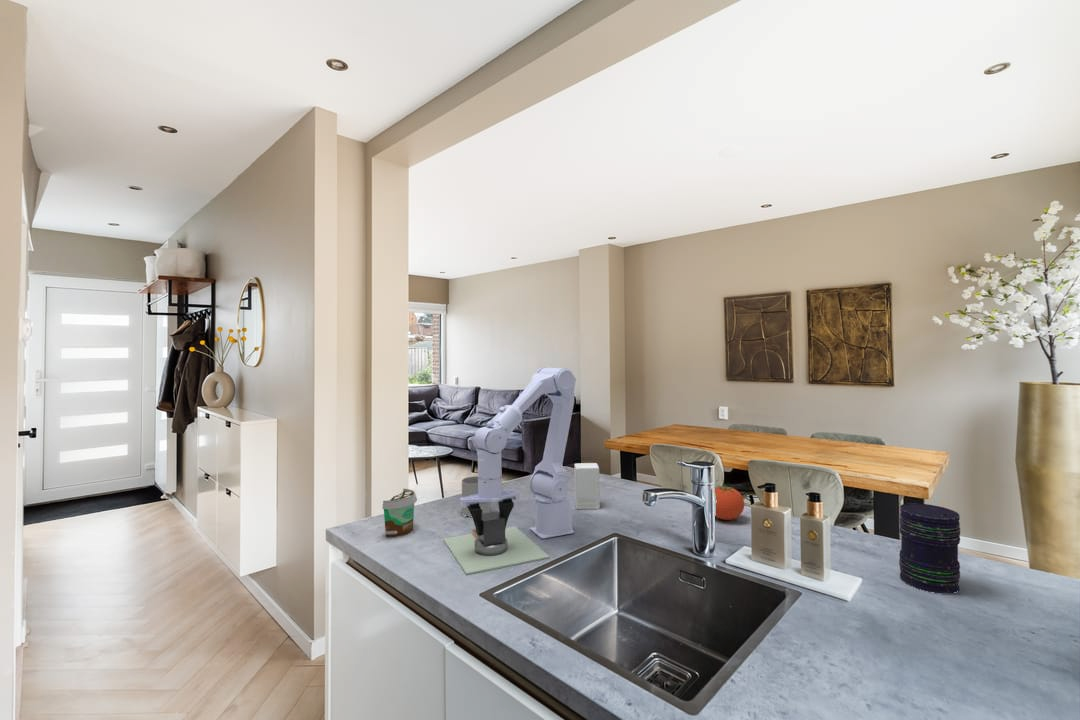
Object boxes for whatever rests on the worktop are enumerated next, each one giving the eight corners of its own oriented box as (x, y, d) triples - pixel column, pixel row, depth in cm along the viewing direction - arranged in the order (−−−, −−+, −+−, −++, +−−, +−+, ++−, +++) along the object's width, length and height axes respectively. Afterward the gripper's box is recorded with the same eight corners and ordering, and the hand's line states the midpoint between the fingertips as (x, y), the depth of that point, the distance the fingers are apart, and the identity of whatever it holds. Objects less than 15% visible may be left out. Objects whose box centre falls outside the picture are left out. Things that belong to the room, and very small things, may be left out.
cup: (475, 506, 157) (475, 474, 156) (495, 511, 152) (495, 478, 152) (456, 514, 150) (455, 481, 150) (476, 519, 145) (476, 485, 145)
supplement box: (600, 509, 152) (599, 468, 152) (575, 509, 152) (575, 468, 152) (597, 501, 160) (597, 462, 159) (574, 502, 160) (573, 462, 159)
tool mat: (515, 527, 138) (515, 526, 138) (549, 558, 118) (549, 556, 118) (443, 540, 130) (443, 538, 130) (466, 575, 109) (466, 573, 109)
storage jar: (888, 577, 106) (888, 507, 105) (917, 568, 109) (917, 500, 109) (941, 598, 96) (942, 521, 96) (971, 588, 100) (971, 514, 100)
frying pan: (512, 552, 120) (511, 527, 120) (480, 558, 117) (479, 533, 117) (491, 531, 134) (491, 508, 134) (462, 536, 131) (462, 513, 131)
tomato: (750, 525, 137) (750, 489, 137) (712, 525, 137) (712, 489, 137) (736, 512, 147) (736, 479, 147) (701, 513, 147) (701, 479, 147)
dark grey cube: (497, 534, 126) (497, 511, 126) (505, 542, 121) (505, 517, 121) (477, 538, 123) (476, 514, 123) (484, 546, 119) (483, 521, 118)
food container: (404, 540, 130) (403, 502, 129) (383, 539, 131) (382, 501, 131) (424, 524, 142) (424, 488, 142) (404, 522, 143) (404, 488, 143)
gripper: (465, 484, 115) (466, 543, 116) (523, 477, 121) (524, 532, 121) (457, 477, 122) (458, 532, 122) (513, 470, 128) (514, 523, 128)
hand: (490, 532), depth 122 cm, fingers closed on dark grey cube, 5 cm apart
